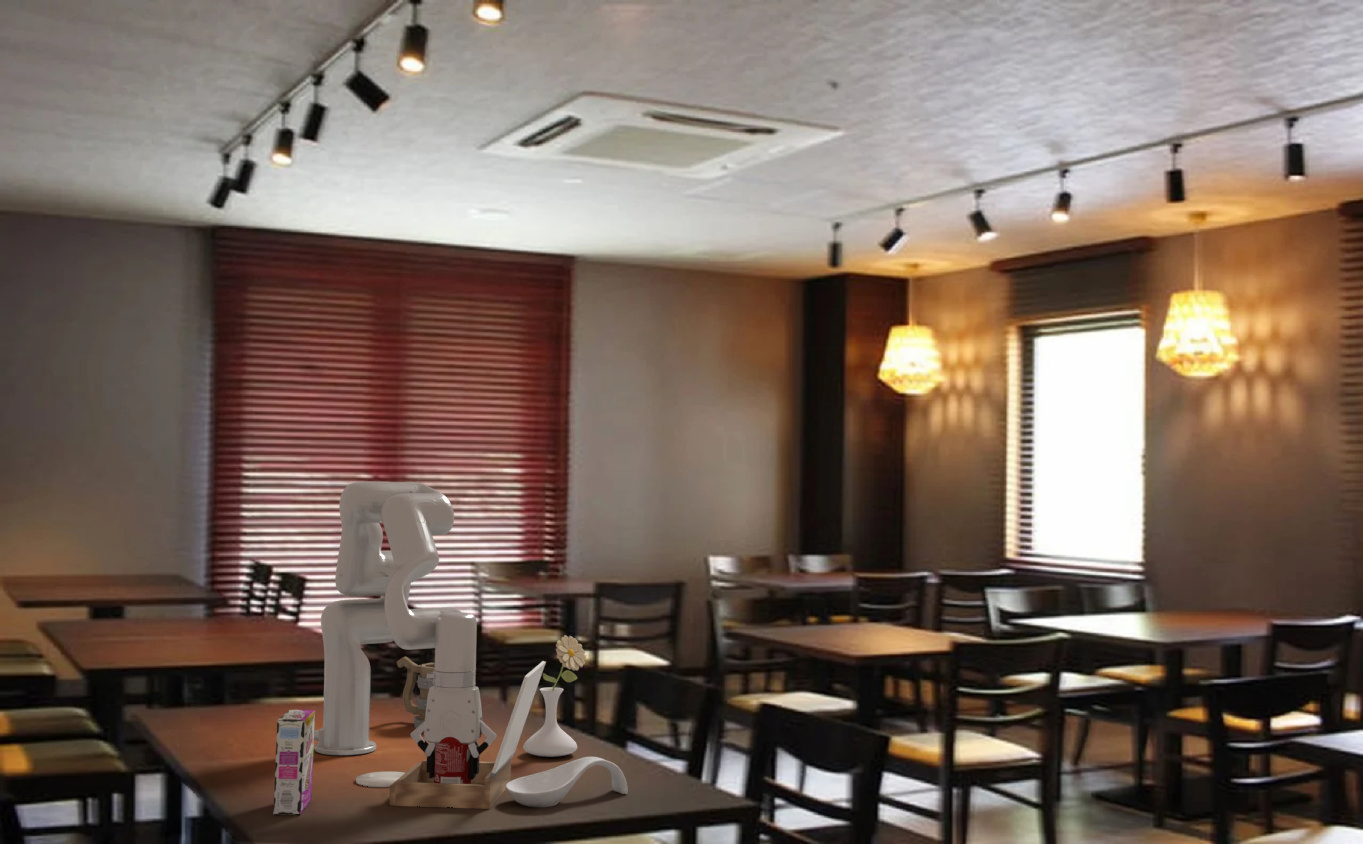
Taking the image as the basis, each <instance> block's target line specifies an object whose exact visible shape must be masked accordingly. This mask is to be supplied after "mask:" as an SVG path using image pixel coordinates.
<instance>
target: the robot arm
mask: <svg viewBox="0 0 1363 844" xmlns="http://www.w3.org/2000/svg"><path fill="white" fill-rule="evenodd" d="M338 510H339V517H340V522H341V535H340V542H339V549H338V555H337V556H338V557H337V562H336V567H335V580H334V581H335V582H334V583H335V587H336V590H337V591H338V592H339V593H340V594H341V595H343V596H347V597H374V596H375V597H379V596H380V598H355V599H354V598H353V599H351V598H350V599H340V600H337V601H336V600H335V601H333V602H330V603H329V604H327V605H326V606H325V607H324V609H323V611H322V612H321V615H320V616H321V617H320V627H321V634H322V641H323V651H324V653H323V654H324V668H323V669H324V673H323V675H324V681H323V683H324V684H323V718H322V719H323V720H322V727H321V728H319V729H317V730H316V729H314V741H317V743H316V744H314V751H315V752H316V753H318V754H321V755H327V756H353V755H354V756H355V755H356V756H357V755H363V754H368V753H372V752H374V751H376V750H377V743H376V742H375V741H373V740H370V710H371V709H370V708H371V707H370V706H371V704H370V703H371V671H372V669H371V665H370V661H369V658H368V657H367V656H366V654H365V653H364V651H363V650H362V648H361V645H368V644H369V645H370V644H383V643H391V642H394V643H395V644H396V645H397V646H398V647H399V648H401V649H403V650H405V651H406V650H408V651H410V650H424V649H426V650H427V649H435V650H434V662H435V670H434V672H431V673H427V680H431V681H433V685H434V686H433V687H430V689H429V693H428V698H427V705H426V714H425V722H423V723H422V724H421V725H420V726H419V727H417V728H414V730H413V731H411V733H410V735H409V736H410V737H411V738H412V740H413V741H414V742H415V744H417V746H418V748H419V749H420V750H421V751H422V753H424V756H426V760H427V773H429V778H433V777H434V758H435V743H439V742H440V741H441V740H442V739H444V738H446V737H454V738H456V739H458V740H459V741H460V743H462V744H468V747H469V749H470V751H471V757H470V758H469V779H470V780H473V779H474V778H475V777H476V774H478V773H479V762H480V755H481V754H482V753H483V752H484V751H485V750H487V749H488V748H489V747H490V746H491V744H492V743H493V742H494V741H495V740H496V738H497V737H498V735H497V734H496V732H495V731H494V730H493V729H491V728H490V727H489V726H488V725H487V724H486V723H485V722H484V721H483V712H482V700H481V693H480V689H479V687H478V686H476V674H477V673H476V672H477V667H476V666H477V665H476V664H477V627H478V625H477V624H478V623H477V619H476V616H475V615H474V614H472V613H470V612H464V611H461V610H459V609H457V608H456V607H430V608H429V607H427V608H426V607H424V608H409V607H408V606H409V605H408V604H409V603H408V602H409V597H410V592H411V584H412V583H413V582H415V581H418V580H419V579H421V578H424V577H425V576H427V575H429V574H430V573H432V572H433V571H434V570H435V569H436V568H437V566H439V565H438V564H439V562H440V557H439V556H440V555H439V553H438V550H437V547H436V543H435V540H434V537H433V536H443V535H447V534H448V533H449V532H450V531H451V530H452V528H453V526H454V524H455V523H454V522H455V512H454V508H453V505H452V503H451V501H450V500H449V499H448V497H447V496H446V495H445V494H444V493H443V492H440V491H439V490H437V489H434V488H433V487H430V486H429V485H426V484H424V483H421V482H413V481H411V482H410V481H402V482H401V481H357V482H352V483H349V484H348V485H346V487H345V488H344V489H343V490H342V492H341V494H340V498H339V509H338ZM381 524H383V527H384V532H385V535H386V537H387V543H388V545H389V548H390V550H382V545H383V539H384V533H383V528H382V525H381ZM450 732H451V733H450ZM422 733H423V736H422ZM483 734H484V736H485V737H486V738H485V739H484V741H483V742H482V743H481V744H479V742H478V740H479V739H480V738H481V737H482V735H483Z"/></svg>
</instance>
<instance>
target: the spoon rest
mask: <svg viewBox="0 0 1363 844" xmlns="http://www.w3.org/2000/svg"><path fill="white" fill-rule="evenodd" d="M594 766H601V767H604V768H606V769H607V770H608V771H609V773H610V775H611V788H612V790H613V791H614V792H615V793H616V792H617V793H619V794H622V795H627V794H628V792H629V790H628V789H629V788H628V783H627V779H626V777H625V775H624V772H623V771H622V770H621V768H620V767H619V766H618V765H617V764H615V763H614V762H611V761H610V760H606V759H604V758H602V757H598V756H585V757H584V756H583V757H580V758H578V759H575V760H572V761H568V762H567V763H564V764H562V765H558V766H556V767H554V768H551V769H547V770H544V771H541V772H537V773H533V774H530V775H525V776H522V777H518V778H515V779H513V780H512V779H511V781H510V782H508V783H507V784H506V786H505V789H506V790H505V791H506V793H507V794H508V795H509V796H510V798H511V799H513V800H514V801H515V802H516V803H518V804H520V805H522V806H526V807H529V808H530V807H531V808H548V807H554V806H556V805H558V803H559V802H560V801H561V800H563V799H564V798H565V796H566V795H567V794H568V793H569V792H570V791H571V789H572V788H573V786H574V785H575V784H576V782H577V781H579V779H580V778H581V777H582V775H583V774H584V773H585V772H586V771H587V770H589V769H590V768H591V767H594Z"/></svg>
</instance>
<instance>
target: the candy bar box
mask: <svg viewBox="0 0 1363 844" xmlns="http://www.w3.org/2000/svg"><path fill="white" fill-rule="evenodd" d="M315 721H316V710H314V709H313V710H311V709H289V710H288V711H286V712H285V713H284V714H283V715H282V716H280V717H279V718H278V719H277V720H276V741H275V742H276V744H275V766H274V767H275V768H274V786H273V787H274V788H273V789H274V790H273V792H274V793H273V809H272V810H273V812H272V815H274V814H300V815H302V813H303V812H304V810H305V809H306V808H307V807H308V805H309V804H310V803H311V801H312V798H313V797H312V796H313V795H312V794H313V771H314V768H313V767H314V751H315V740H314V730H316V729H315ZM302 811H303V812H302Z"/></svg>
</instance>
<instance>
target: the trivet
mask: <svg viewBox="0 0 1363 844" xmlns="http://www.w3.org/2000/svg"><path fill="white" fill-rule="evenodd" d="M405 773H406V772H403V771H374V772H369V773H364V774H359V775H358V776H356V777H355V783H356V784H357V785H360V786H362V785H363V787H367V786H368V788H390V785H391V784H393V783H394V782H395V781H396V780H397V779H399V778H400V777H401V776H402V775H404V774H405Z"/></svg>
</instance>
